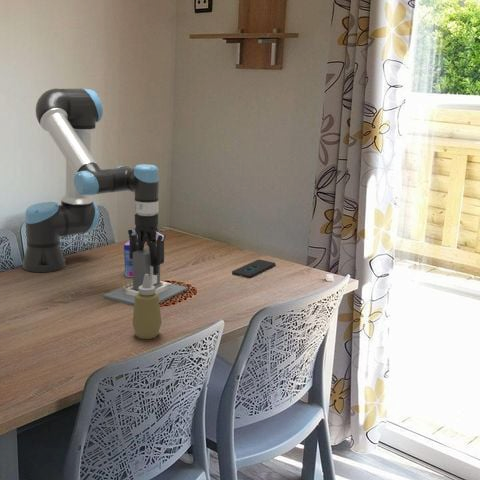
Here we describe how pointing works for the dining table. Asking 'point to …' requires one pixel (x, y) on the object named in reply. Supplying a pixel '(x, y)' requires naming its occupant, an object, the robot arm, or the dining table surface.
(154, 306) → the squeeze bottle
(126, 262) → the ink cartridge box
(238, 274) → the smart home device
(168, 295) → the socket board
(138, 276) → the keyed plug
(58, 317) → the dining table surface
